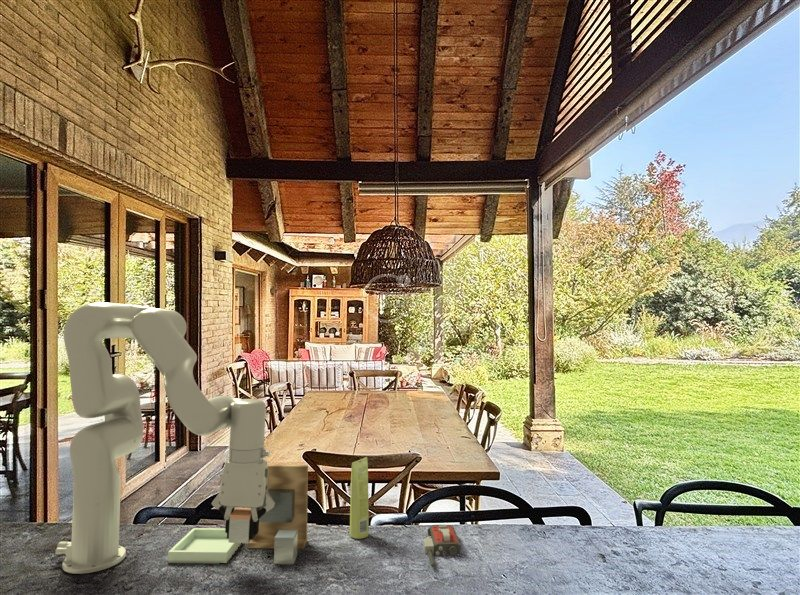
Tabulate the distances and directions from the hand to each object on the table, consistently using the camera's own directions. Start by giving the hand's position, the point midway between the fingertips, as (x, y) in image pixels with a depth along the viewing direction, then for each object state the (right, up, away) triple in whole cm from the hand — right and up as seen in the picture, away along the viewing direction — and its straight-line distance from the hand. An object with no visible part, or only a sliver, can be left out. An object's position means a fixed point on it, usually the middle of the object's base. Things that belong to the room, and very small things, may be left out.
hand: (241, 535), depth 113 cm
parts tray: (-11, -8, +9) cm, 16 cm away
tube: (+25, -9, +18) cm, 32 cm away
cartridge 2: (+9, -8, +4) cm, 13 cm away
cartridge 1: (0, -1, 0) cm, 1 cm away
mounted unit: (+5, -8, +12) cm, 16 cm away
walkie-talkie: (+46, -9, +9) cm, 48 cm away
